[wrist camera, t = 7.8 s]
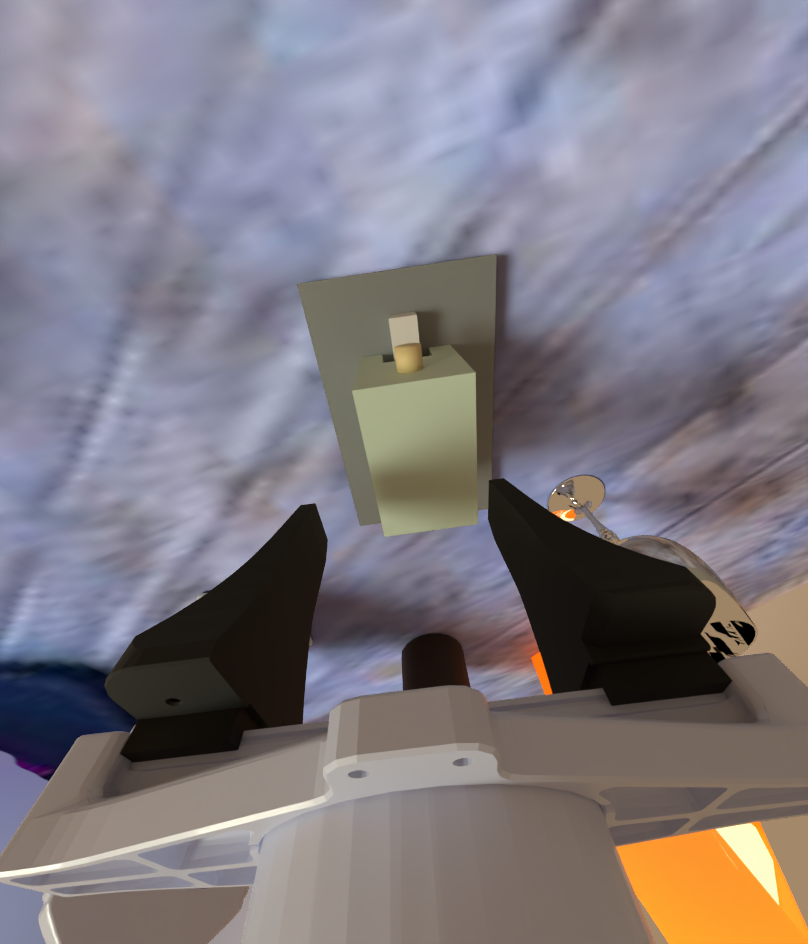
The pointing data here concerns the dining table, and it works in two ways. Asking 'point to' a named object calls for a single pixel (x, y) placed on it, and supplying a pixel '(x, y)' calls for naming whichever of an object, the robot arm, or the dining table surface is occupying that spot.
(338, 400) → the cleat board
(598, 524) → the wineglass
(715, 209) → the dining table surface
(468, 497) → the cabinet block
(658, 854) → the orange juice
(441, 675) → the bottle
